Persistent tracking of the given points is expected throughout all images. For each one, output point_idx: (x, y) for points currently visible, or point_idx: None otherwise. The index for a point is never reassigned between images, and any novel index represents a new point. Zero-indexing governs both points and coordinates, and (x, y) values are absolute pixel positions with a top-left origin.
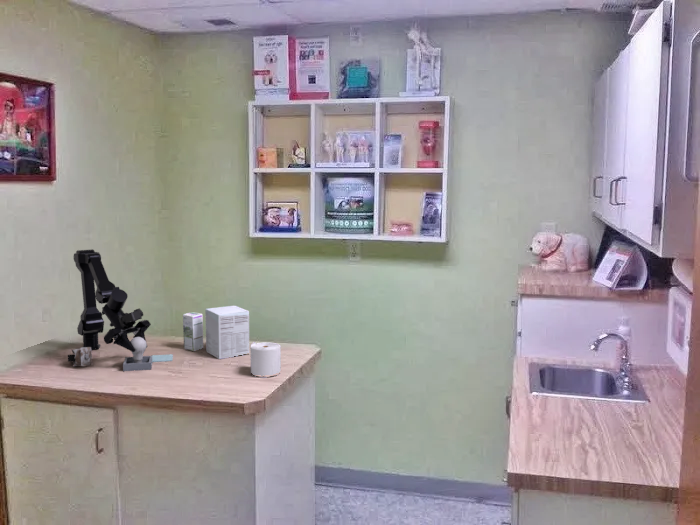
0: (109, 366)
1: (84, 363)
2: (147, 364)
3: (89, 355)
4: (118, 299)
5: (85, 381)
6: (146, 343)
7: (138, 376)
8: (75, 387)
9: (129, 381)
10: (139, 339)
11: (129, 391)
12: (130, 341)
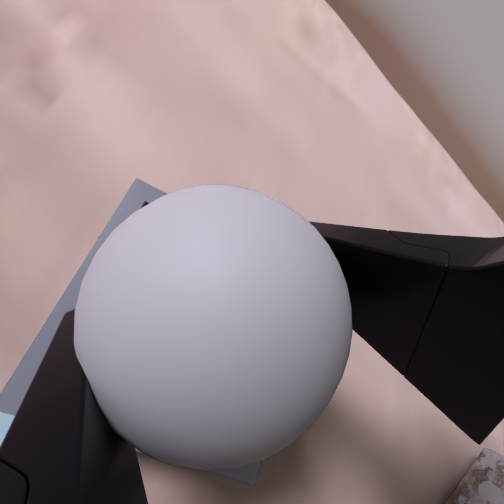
0: (339, 437)
1: (484, 483)
2: (161, 196)
3: None
4: None
5: (443, 230)
6: (53, 344)
7: (248, 141)
8: (466, 186)
9: (302, 109)
10: (250, 205)
11: (326, 21)
12: (351, 330)
